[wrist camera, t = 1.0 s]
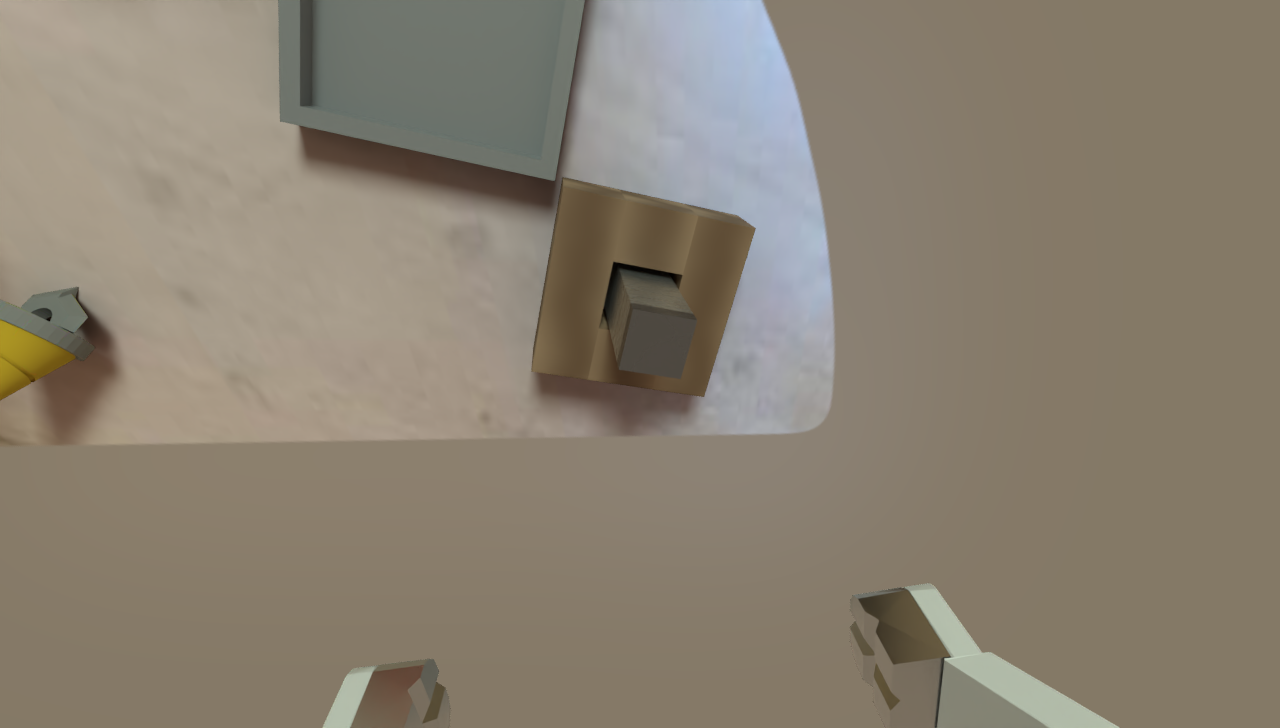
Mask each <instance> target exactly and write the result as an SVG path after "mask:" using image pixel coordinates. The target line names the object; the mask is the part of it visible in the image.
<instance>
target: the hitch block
mask: <svg viewBox="0 0 1280 728" xmlns="http://www.w3.org/2000/svg"><path fill="white" fill-rule="evenodd" d="M755 229H756V228H754V227H753V226H751V225H750V224H749V223H747V222H746V221H744V220H743V219H742V218H740V217H739V216H737V215H732V214H728V213H723V212H719V211H714V210H710V209H705V208H700V207H696V206H691V205H687V204H682V203H678V202H673V201H669V200H664V199H660V198H655V197H650V196H646V195H641V194H637V193H632V192H628V191H623V190H619V189H614V188H610V187H605V186H600V185H596V184H591V183H587V182H582V181H578V180H573V179H569V178H564V177H563V178H562V184H561V189H560V195H559V201H558V207H557V213H556V219H555V224H554V230H553V236H552V242H551V248H550V254H549V260H548V265H547V271H546V277H545V283H544V289H543V295H542V300H541V306H540V312H539V318H538V324H537V330H536V336H535V341H534V347H533V360H532V372H538V373H545V374H552V375H559V376H565V377H572V378H579V379H586V380H592V381H599V382H606V383H613V384H620V385H626V386H633V387H640V388H647V389H653V390H660V391H667V392H674V393H680V394H687V395H694V396H701V397H704V395H705V391H706V388H707V385H708V382H709V378H710V375H711V372H712V369H713V365H714V362H715V359H716V356H717V352H718V349H719V346H720V343H721V339H722V336H723V333H724V330H725V326H726V323H727V320H728V317H729V313H730V310H731V307H732V304H733V300H734V297H735V294H736V291H737V287H738V284H739V281H740V278H741V274H742V271H743V268H744V264H745V261H746V258H747V255H748V251H749V248H750V245H751V242H752V238H753V235H754V232H755ZM613 262H619V263H624V264H629V265H634V266H639V267H644V268H650V269H655V270H660V271H665V272H668V273H669V275H670V276H671V278H672V280H673V281H674V283H675V285H676V286H677V288H678V289H679V291H680V293H681V294H682V296H683V298H684V299H685V301H686V303H687V304H688V306H689V307H690V309H691V311H692V312H693V314H694V316H695V317H696V319H697V324H696V327H695V331H694V334H693V338H692V341H691V345H690V348H689V352H688V355H687V359H686V362H685V366H684V369H683V373H682V376H681V379H677V378H670V377H664V376H657V375H651V374H644V373H637V372H631V371H624V370H619V369H618V364H617V360H616V356H615V351H614V347H613V342H612V338H611V334H610V329H609V325H608V320H607V316H606V312H605V309H603V307H604V302H605V298H606V293H607V288H608V284H609V279H610V275H611V270H612V265H613Z"/></svg>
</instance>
